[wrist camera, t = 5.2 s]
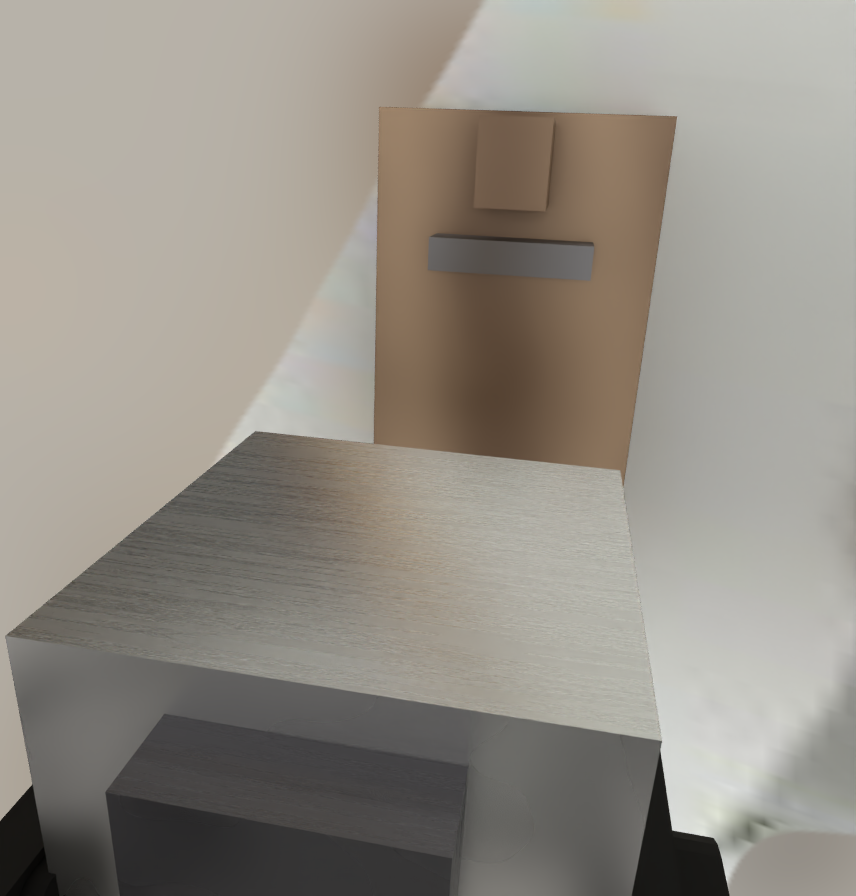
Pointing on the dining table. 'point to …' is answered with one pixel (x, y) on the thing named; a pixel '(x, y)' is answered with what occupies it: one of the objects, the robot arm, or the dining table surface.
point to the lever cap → (349, 684)
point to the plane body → (515, 280)
